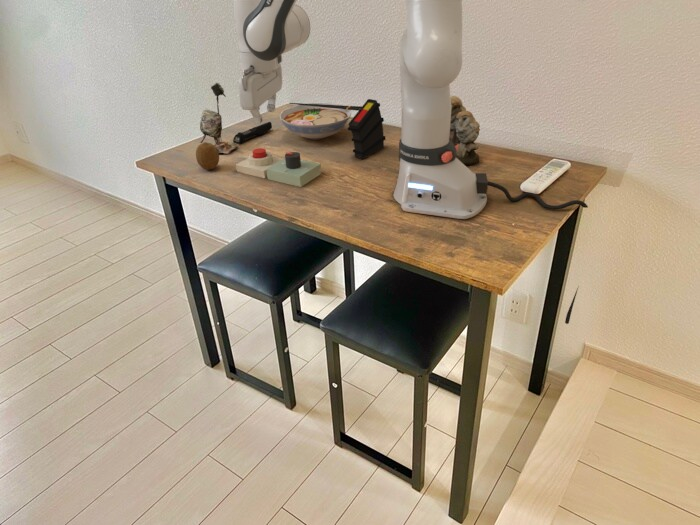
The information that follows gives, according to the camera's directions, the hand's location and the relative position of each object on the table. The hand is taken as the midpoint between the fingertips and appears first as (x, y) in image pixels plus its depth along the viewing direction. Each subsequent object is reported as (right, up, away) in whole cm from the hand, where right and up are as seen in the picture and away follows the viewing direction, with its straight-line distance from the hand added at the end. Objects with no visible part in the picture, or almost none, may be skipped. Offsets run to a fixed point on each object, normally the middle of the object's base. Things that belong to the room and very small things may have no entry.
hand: (265, 116), depth 136 cm
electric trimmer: (-9, +2, +32) cm, 34 cm away
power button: (-3, -9, +8) cm, 12 cm away
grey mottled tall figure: (-18, -4, +23) cm, 30 cm away
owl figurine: (+50, -8, +13) cm, 52 cm away
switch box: (-3, -12, +10) cm, 16 cm away
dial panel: (+7, -15, +5) cm, 17 cm away
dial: (+7, -12, +3) cm, 14 cm away
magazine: (+27, -6, +17) cm, 33 cm away
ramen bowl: (+12, +2, +31) cm, 33 cm away
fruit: (-17, -12, +11) cm, 24 cm away
